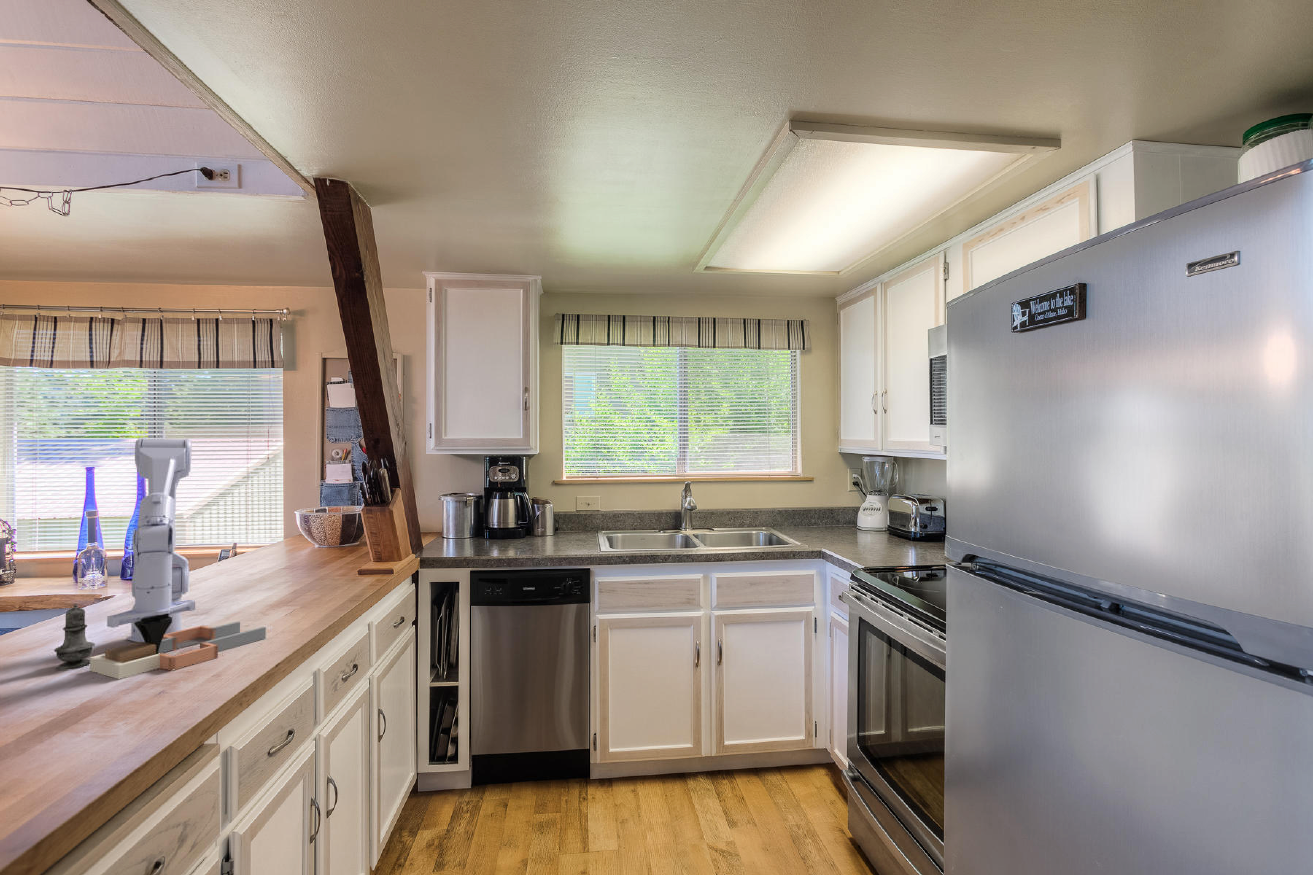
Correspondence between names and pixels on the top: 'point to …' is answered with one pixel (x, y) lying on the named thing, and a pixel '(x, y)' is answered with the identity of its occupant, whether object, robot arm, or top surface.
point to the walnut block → (130, 652)
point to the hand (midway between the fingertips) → (152, 654)
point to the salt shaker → (74, 641)
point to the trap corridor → (203, 635)
